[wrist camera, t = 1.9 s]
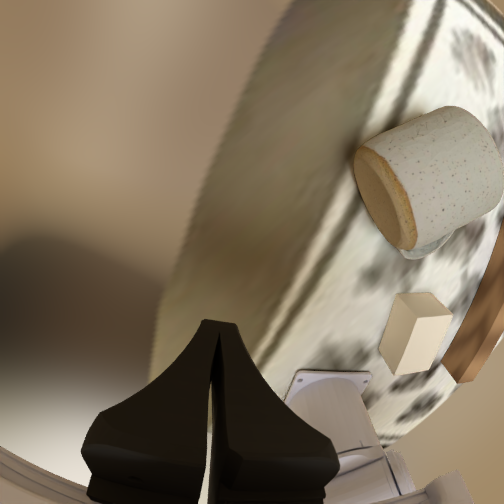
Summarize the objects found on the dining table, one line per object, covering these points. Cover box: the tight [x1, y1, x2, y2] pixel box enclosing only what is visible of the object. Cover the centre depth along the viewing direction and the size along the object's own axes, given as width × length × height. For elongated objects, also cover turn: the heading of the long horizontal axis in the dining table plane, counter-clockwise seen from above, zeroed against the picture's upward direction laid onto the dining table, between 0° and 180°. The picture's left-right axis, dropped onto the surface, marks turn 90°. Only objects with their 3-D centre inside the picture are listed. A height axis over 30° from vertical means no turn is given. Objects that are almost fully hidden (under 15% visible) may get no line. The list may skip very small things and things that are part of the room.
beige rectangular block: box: [378, 293, 453, 376], centre depth 22 cm, size 6×4×4 cm, turn 177°
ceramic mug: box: [353, 106, 504, 259], centre depth 16 cm, size 11×8×8 cm
